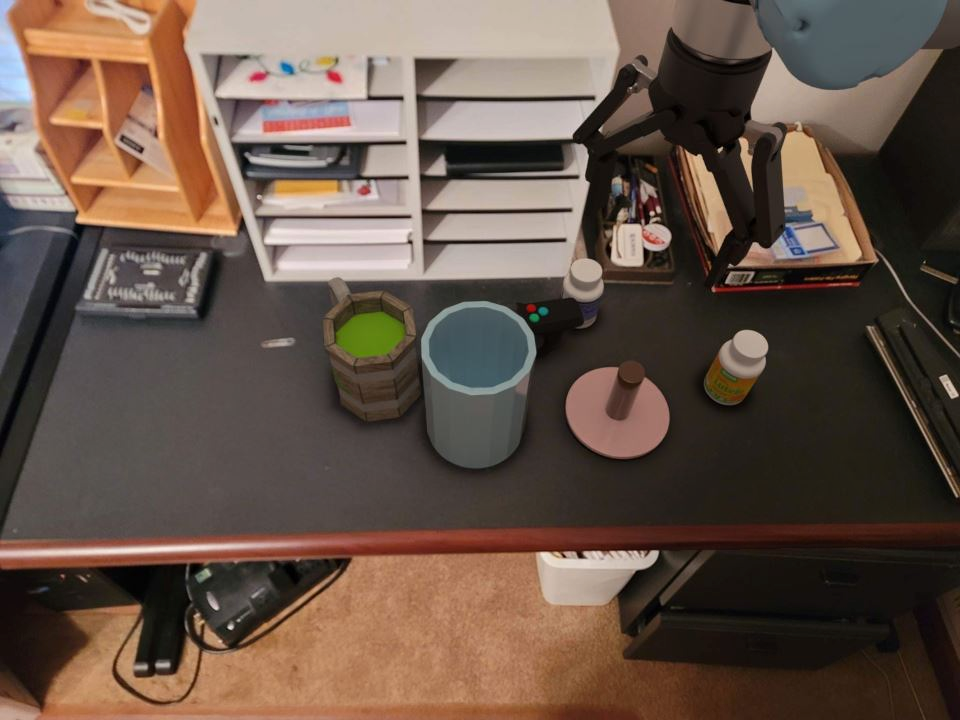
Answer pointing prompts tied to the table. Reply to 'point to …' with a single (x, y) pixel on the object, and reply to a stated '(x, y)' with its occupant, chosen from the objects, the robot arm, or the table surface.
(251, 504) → the table surface
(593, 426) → the lid
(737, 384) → the supplement bottle
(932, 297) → the table surface
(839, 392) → the table surface
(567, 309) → the controller
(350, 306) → the mug
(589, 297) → the pill bottle
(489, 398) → the tin
